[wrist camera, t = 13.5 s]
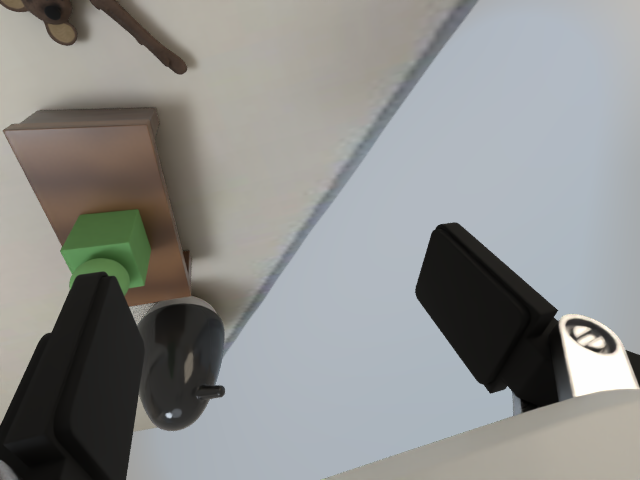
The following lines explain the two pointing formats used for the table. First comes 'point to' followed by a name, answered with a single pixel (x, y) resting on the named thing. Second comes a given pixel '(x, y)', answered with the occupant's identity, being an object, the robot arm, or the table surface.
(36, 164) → the bench
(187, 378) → the pump dispenser
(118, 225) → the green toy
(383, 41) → the table surface
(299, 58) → the table surface
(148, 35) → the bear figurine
